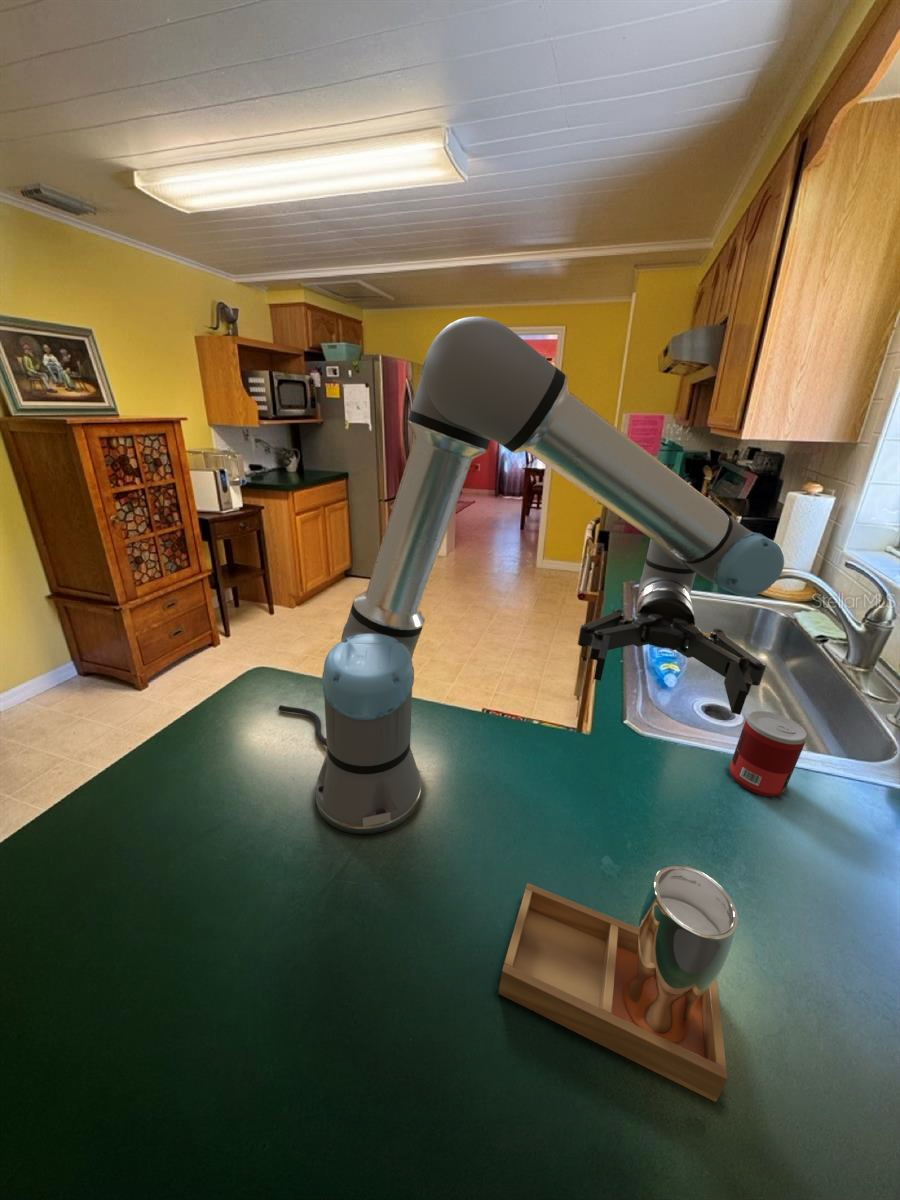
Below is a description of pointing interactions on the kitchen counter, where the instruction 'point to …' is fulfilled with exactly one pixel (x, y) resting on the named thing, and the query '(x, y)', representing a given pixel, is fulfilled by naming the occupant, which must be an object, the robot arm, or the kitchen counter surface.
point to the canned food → (767, 753)
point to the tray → (603, 989)
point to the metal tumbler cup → (678, 949)
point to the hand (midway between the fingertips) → (666, 685)
